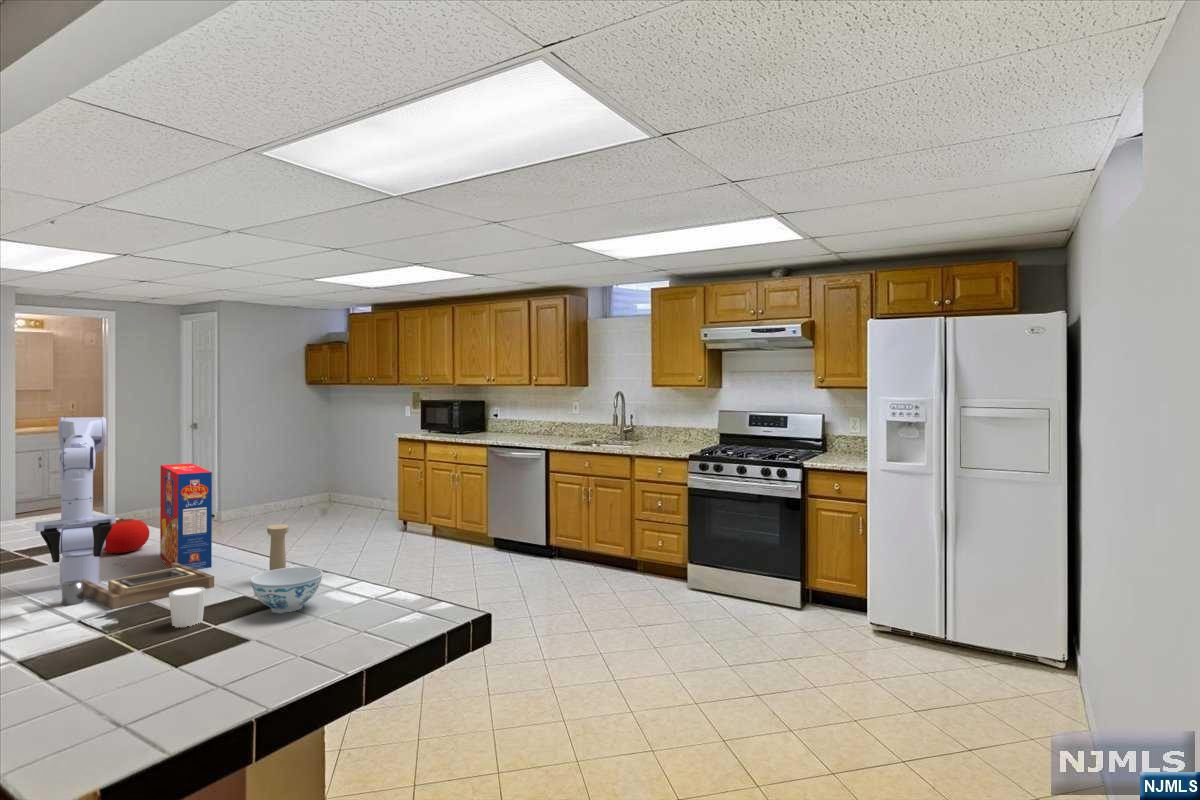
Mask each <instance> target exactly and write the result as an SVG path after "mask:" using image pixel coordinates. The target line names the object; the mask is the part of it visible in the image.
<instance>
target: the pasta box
mask: <svg viewBox="0 0 1200 800" xmlns="http://www.w3.org/2000/svg"><path fill="white" fill-rule="evenodd" d="M212 476H213V473H212V471H211V470H208V469H206V468H203V467H202V466H201V467H200V466H198V465H196V464H194V463H176V464H160V481H159V482H160V484H159V485H160V486H159V487H160V497H159V498H160V501H159V502H160V503H159V504H160V518H159V519H160V520H159V521H160V523H159V524H160V527H159V528H160V529H159V530H160V533H159V534H160V537H159V538H160V540H159V541H160V542H159V543H160V544H159V545H160V546H159V547H160V548H159V551H160V552H159V555H160V557H161V558H162V559H163V560H164V561H165V562H166V563H165V562H164V561H163V560H162V559H161V558H160V559H161V560H162V561H163V562H164V563H165V565H166V566H167V567H168V566H169V567H170V568H169V567H168V568H169V569H171V563H175V562H176V563H179V564H182V565H185V566H187V567H190V568H193V569H196V570H202V569H203V570H204V569H208V568H209V569H210V568H212V565H213V564H212V557H213V556H212V555H213V554H212V548H213V547H212V545H213V543H212V542H213V539H212V538H213V537H212V536H213V535H212V533H213V531H212V529H213V527H212V525H213V520H212V519H213V518H212V517H213V516H212V515H213V514H212V513H213V509H212V507H213V506H212V505H213V503H212V502H213V499H212V498H213V496H212V493H213V492H212V491H213V485H212V483H213V477H212Z"/></svg>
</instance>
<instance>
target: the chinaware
mask: <svg viewBox="0 0 1200 800" xmlns="http://www.w3.org/2000/svg"><path fill="white" fill-rule="evenodd" d="M322 577H323V571H322V570H321V569H318V568H314V567H309V566H308V567H307V566H297V567H296V566H295V567H294V566H293V567H292V566H291V567H286V568H282V569H275V570H270V569H269V570H268V571H267V570H266V571H263V572H260V573H258V574H254V575H253V576H252V577H251V579H250V583H251V588H252V590H253V593H254V594H255V597H256V598H257V599H258V600H259V601H260V602H261V603H262V604H263V605H265V606H267V607H269V608H270V610H271V612H272V611H273V612H272V613H274V612H278V613H277V614H284V613H283V612H290V613H292V612H291V611H294V612H296V611H295V610H298V611H300V610H302V609H303V608H302V607H304V604H305V603H306V602H308V601H309V600H310V599H311V598H312V597H313V596H314V595H315V594H316V592H317V590H318V588H319V587H320V584H321V581H322ZM301 608H302V609H301ZM299 609H300V610H299Z"/></svg>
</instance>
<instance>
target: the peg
mask: <svg viewBox="0 0 1200 800" xmlns="http://www.w3.org/2000/svg"><path fill="white" fill-rule="evenodd" d="M84 602H85V594H84V581H83V580H74V581H68V582H65V583H62V589H61V606H63V607H68V606H70V607H71V606H75V605H79V604H83V603H84Z"/></svg>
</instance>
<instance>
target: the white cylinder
mask: <svg viewBox="0 0 1200 800" xmlns="http://www.w3.org/2000/svg"><path fill="white" fill-rule="evenodd" d="M206 590H207V589H205V588H203V587H188V588H181V589H177V590H174V591H172V592H170V593H169V597H168V598H169V607H170V616H171V617H170V619H171V626H172V627H173V626H175V627H174V628H179V627H180V628H188V627H187V626H189V627H193V626H192V625H194V626H196V625H195V624H197V625H199V624H201V623H202V622H203V621H204V620H203V619H204V612H205V602H206V592H207V591H206ZM200 622H201V623H200ZM198 623H199V624H198Z"/></svg>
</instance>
